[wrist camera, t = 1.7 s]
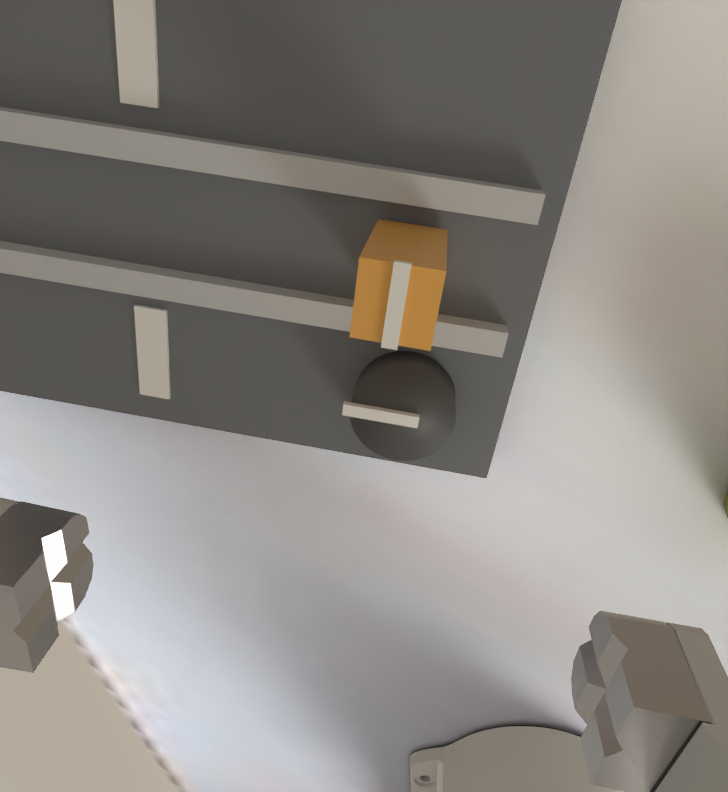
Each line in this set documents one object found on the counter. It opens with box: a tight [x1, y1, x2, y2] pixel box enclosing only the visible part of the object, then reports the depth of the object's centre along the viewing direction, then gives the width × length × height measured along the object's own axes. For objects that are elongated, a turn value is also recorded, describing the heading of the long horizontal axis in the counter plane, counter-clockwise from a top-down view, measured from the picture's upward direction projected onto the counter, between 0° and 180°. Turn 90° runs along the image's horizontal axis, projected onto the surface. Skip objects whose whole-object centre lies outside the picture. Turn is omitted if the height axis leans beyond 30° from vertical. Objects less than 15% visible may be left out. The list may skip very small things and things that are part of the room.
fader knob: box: [349, 219, 448, 351], centre depth 24 cm, size 3×3×6 cm
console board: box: [0, 0, 622, 478], centre depth 27 cm, size 22×28×4 cm
